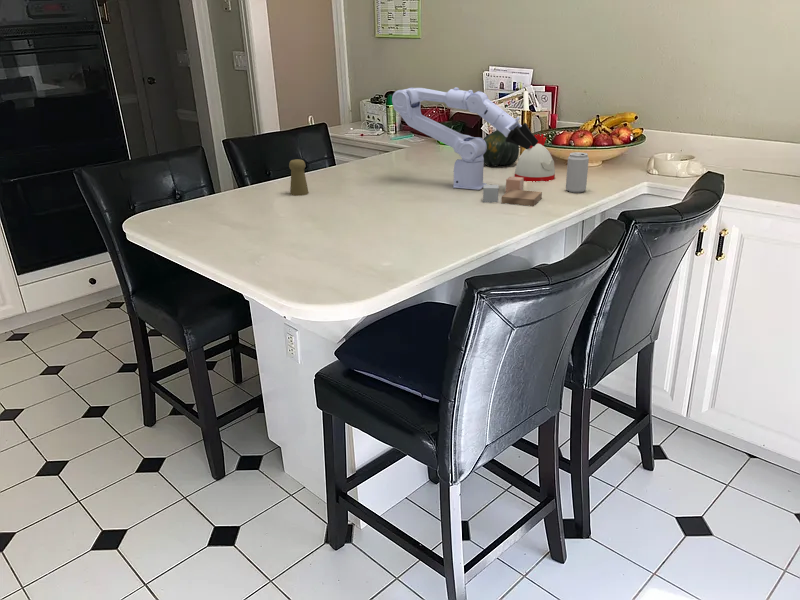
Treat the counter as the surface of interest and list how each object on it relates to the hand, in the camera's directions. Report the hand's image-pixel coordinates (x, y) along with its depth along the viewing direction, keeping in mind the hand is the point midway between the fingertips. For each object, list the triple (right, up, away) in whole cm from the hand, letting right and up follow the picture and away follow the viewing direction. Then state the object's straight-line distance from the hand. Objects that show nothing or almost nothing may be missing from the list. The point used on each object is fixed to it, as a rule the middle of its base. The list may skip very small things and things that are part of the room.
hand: (533, 145), depth 204 cm
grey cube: (-14, -18, -2) cm, 22 cm away
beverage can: (+15, -13, +7) cm, 21 cm away
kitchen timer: (+6, -5, +26) cm, 27 cm away
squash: (-4, +4, +47) cm, 47 cm away
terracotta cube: (-5, -13, +7) cm, 16 cm away
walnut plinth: (-4, -18, -3) cm, 19 cm away
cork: (-75, -13, +10) cm, 76 cm away
